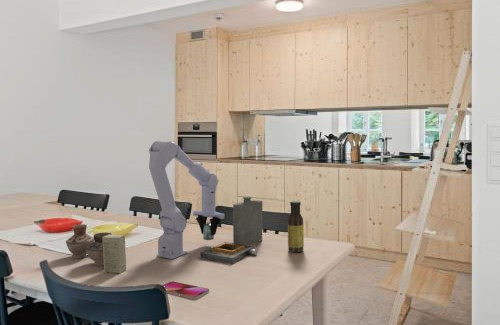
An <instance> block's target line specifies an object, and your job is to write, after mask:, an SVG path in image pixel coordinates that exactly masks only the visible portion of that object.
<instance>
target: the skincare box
mask: <svg viewBox="0 0 500 325" xmlns="http://www.w3.org/2000/svg"><path fill="white" fill-rule="evenodd" d="M125 236H126V235H125V234H112V235H111V234H109V235H107V236H104V237H102V240H103V261H104V266H103V273H105V272H109V273H108V274H121V273H123V272H124V271H127V259H126V257H127V255H126V237H125Z"/></svg>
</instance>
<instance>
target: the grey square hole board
mask: <svg viewBox="0 0 500 325" xmlns="http://www.w3.org/2000/svg"><path fill="white" fill-rule="evenodd" d="M249 255H253V256H257V255H258V249H256V245H249V244H245V245H244V244H237V243H233V242H229V241H224V242H221V243H220V244H217V245H216V246H213V247H211V248H208V249H206V250H203V251H201V252H200V259H203V260H209V261H216V262H223V263H229V264H234V263H236V262H238V261H240V260H242V259H244V258H245V257H247V256H249Z"/></svg>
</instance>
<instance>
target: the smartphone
mask: <svg viewBox="0 0 500 325" xmlns="http://www.w3.org/2000/svg"><path fill="white" fill-rule="evenodd" d="M162 285H163V286H165V288H166V289H167V293H166V294H169V293H171V294H170V295H173V294H175V296H177V295H180V296H179V297H181V296H183V297H182V298H185V297H188V298H187V299H189V298H191V299H190V300H194V299H195V300H198V298H199V299H200V298H202V297H204V296H206V295H207V294H209V293H210V289H209V288H207V287H202V286H197V285H192V284H187V283H183V282H178V281H168V282H166V283H165V284H164V283H163V284H162ZM208 292H209V293H208ZM206 293H207V294H206ZM205 294H206V295H205ZM203 295H204V296H203ZM201 296H202V297H201Z"/></svg>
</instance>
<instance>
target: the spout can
mask: <svg viewBox="0 0 500 325" xmlns="http://www.w3.org/2000/svg"><path fill="white" fill-rule="evenodd" d="M202 235H203V236H202V237H203V238H202V239H203V240H204V241H213V240H215V238H214V237H215V235H211V223H210V221H206V224H203V234H202Z"/></svg>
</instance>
